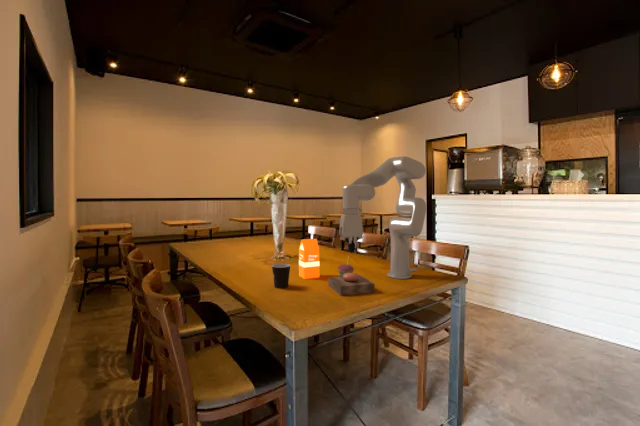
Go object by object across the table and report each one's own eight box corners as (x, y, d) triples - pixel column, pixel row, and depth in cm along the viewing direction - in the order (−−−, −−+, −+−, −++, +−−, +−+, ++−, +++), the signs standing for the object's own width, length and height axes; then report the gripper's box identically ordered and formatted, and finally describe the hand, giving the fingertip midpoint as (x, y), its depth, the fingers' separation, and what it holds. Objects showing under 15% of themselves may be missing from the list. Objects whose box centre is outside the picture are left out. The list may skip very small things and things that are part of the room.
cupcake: (353, 276, 173) (353, 253, 172) (353, 280, 164) (353, 257, 164) (337, 275, 174) (337, 253, 173) (336, 280, 165) (336, 256, 165)
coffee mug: (287, 289, 148) (287, 267, 148) (269, 288, 150) (269, 267, 150) (294, 282, 160) (294, 262, 159) (277, 281, 162) (277, 262, 161)
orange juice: (298, 275, 174) (298, 238, 173) (313, 274, 178) (313, 237, 177) (304, 279, 167) (304, 240, 166) (319, 277, 171) (319, 239, 170)
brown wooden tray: (359, 283, 159) (359, 275, 159) (374, 292, 144) (374, 283, 144) (328, 285, 155) (328, 277, 154) (340, 295, 139) (340, 286, 139)
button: (354, 276, 154) (354, 272, 153) (360, 280, 147) (361, 275, 147) (340, 277, 151) (340, 273, 151) (346, 281, 145) (346, 277, 145)
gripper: (362, 211, 153) (363, 249, 155) (332, 212, 149) (333, 251, 150) (369, 212, 146) (370, 252, 147) (338, 213, 142) (339, 254, 143)
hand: (351, 251), depth 149 cm, fingers closed
